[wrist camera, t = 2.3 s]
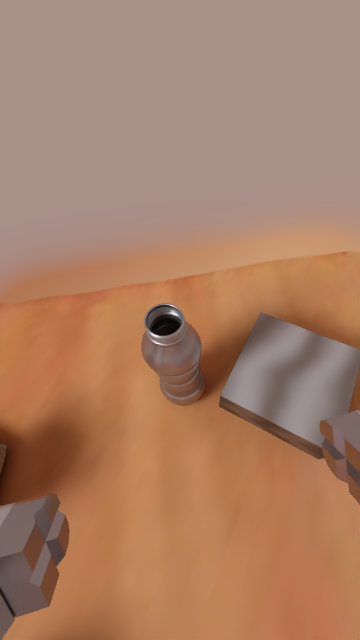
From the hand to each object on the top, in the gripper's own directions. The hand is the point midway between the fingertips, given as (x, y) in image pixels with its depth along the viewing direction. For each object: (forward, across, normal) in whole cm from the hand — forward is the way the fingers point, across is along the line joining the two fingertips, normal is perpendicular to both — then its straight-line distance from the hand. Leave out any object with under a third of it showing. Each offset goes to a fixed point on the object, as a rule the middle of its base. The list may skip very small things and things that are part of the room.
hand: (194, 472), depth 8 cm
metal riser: (+28, -14, +16) cm, 35 cm away
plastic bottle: (+30, 0, +13) cm, 33 cm away
